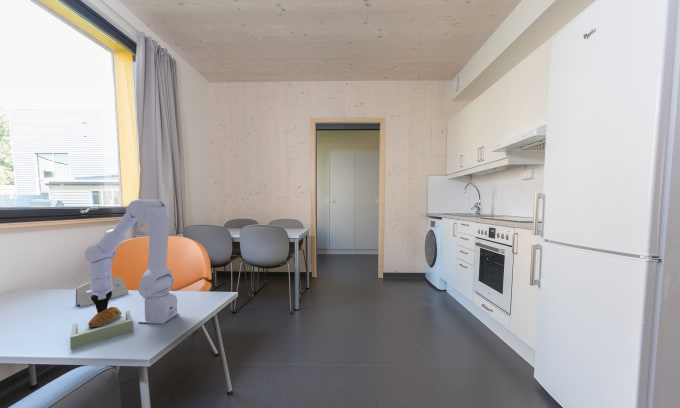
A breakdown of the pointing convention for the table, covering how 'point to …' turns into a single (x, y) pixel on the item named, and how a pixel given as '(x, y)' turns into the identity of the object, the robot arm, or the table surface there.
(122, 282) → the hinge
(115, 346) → the table surface
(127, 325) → the chute dock
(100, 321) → the pastry
